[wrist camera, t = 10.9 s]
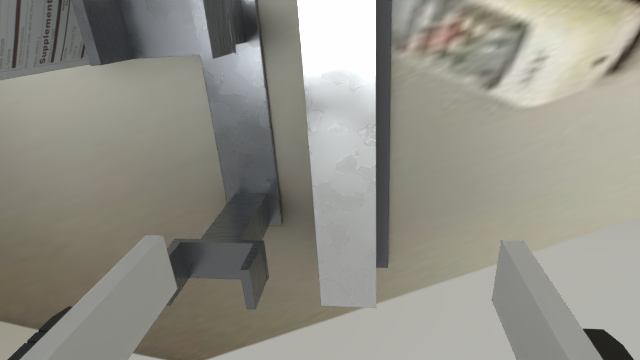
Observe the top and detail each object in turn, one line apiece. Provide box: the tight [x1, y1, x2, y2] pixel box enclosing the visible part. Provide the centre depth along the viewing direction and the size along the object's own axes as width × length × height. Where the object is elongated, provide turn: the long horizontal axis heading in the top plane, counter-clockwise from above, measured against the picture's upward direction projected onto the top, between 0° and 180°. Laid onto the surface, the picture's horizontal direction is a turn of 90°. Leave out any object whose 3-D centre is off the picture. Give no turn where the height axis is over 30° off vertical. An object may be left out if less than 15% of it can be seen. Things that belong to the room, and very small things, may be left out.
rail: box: [298, 0, 376, 308], centre depth 28 cm, size 4×26×6 cm, turn 4°
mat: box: [375, 0, 391, 268], centre depth 31 cm, size 6×27×1 cm, turn 4°
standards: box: [71, 0, 283, 309], centre depth 27 cm, size 7×20×12 cm, turn 4°
